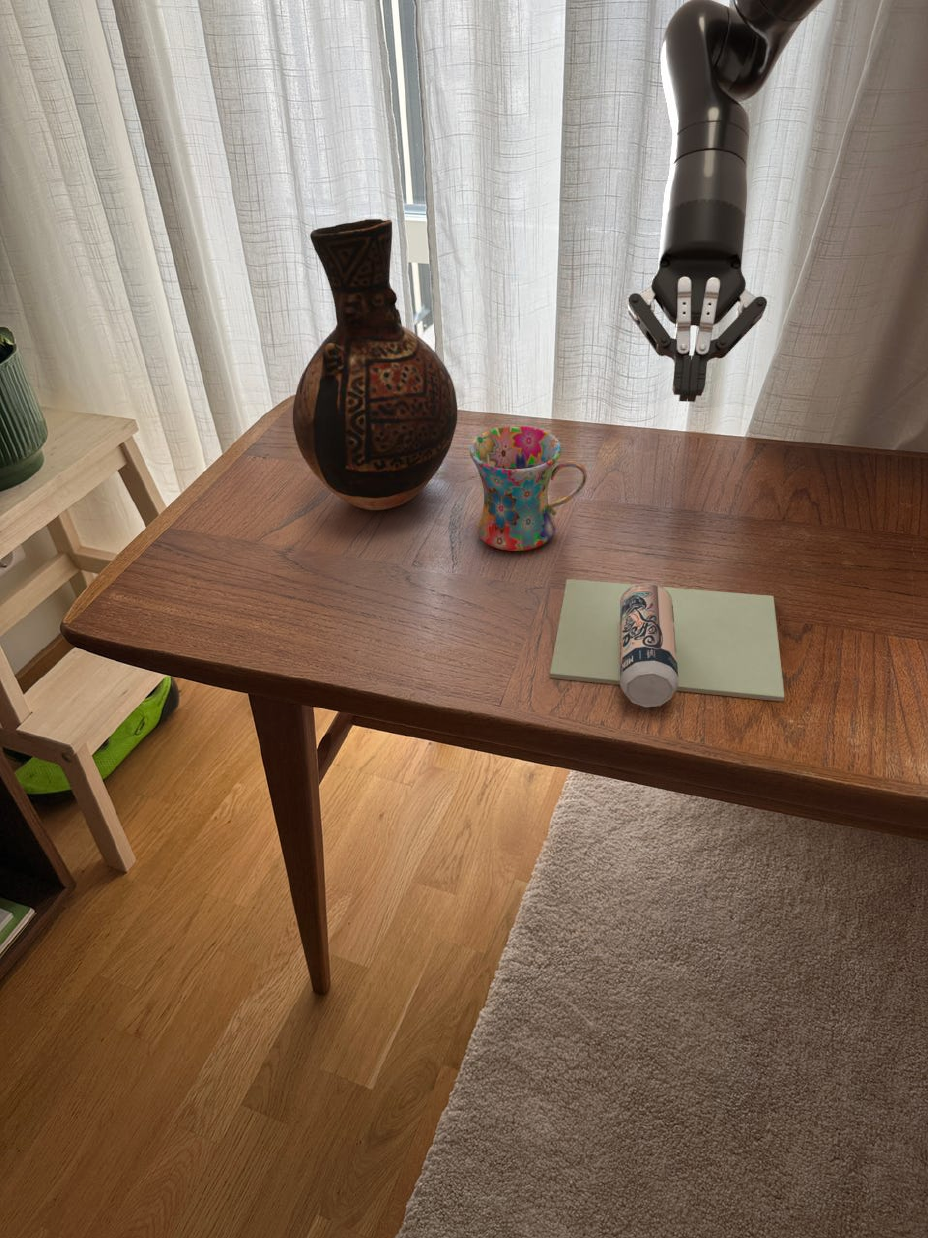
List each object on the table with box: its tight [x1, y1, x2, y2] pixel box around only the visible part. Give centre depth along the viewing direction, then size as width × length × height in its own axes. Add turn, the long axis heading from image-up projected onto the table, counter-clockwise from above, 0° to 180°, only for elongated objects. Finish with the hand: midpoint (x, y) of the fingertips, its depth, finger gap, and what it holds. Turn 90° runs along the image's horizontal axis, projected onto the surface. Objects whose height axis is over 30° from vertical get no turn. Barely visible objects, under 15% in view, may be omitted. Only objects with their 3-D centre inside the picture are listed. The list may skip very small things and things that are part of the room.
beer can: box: [619, 582, 679, 708], centre depth 78 cm, size 5×5×12 cm
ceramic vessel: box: [292, 218, 458, 511], centre depth 95 cm, size 21×18×30 cm
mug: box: [469, 425, 588, 552], centre depth 93 cm, size 12×9×11 cm
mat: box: [549, 578, 786, 703], centre depth 82 cm, size 20×14×1 cm
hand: (687, 398), depth 81 cm, fingers closed
